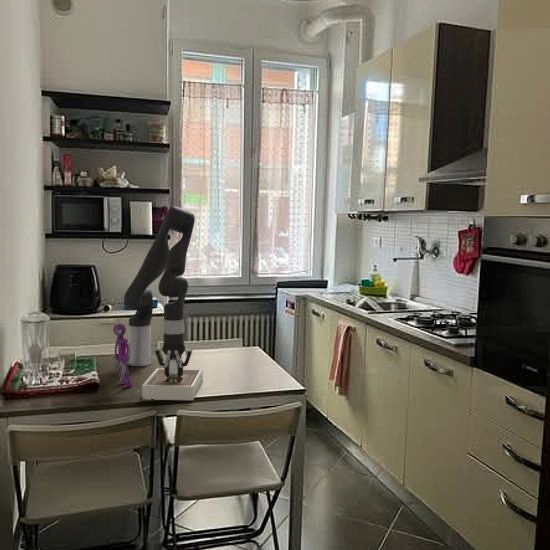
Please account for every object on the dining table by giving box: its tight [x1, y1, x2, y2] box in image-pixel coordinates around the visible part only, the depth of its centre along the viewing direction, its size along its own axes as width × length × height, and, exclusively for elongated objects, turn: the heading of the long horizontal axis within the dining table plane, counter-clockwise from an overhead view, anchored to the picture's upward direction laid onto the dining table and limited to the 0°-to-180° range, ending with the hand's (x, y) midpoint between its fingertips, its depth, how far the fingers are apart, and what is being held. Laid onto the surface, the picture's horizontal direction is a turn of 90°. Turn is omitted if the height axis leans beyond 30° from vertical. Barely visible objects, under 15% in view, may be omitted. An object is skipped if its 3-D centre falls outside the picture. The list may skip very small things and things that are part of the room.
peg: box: [168, 358, 179, 382], centre depth 210 cm, size 4×4×10 cm
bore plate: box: [151, 374, 196, 386], centre depth 211 cm, size 14×14×3 cm
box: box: [141, 367, 204, 401], centre depth 211 cm, size 18×22×5 cm
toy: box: [112, 323, 133, 389], centre depth 213 cm, size 16×7×24 cm, turn 37°
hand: (174, 376), depth 210 cm, fingers closed on peg, 4 cm apart
